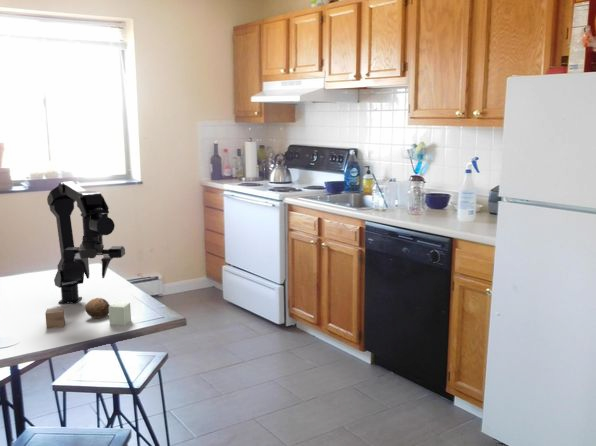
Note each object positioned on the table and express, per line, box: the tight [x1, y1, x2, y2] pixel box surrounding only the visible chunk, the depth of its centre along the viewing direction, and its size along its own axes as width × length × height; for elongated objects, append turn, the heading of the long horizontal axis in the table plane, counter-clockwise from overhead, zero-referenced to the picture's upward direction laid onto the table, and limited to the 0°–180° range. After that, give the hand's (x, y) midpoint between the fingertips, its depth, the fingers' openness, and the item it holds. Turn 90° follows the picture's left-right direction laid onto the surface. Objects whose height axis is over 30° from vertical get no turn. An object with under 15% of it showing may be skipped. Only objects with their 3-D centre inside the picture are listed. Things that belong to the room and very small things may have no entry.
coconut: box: [84, 297, 111, 319], centre depth 193 cm, size 8×8×6 cm
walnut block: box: [44, 307, 66, 329], centre depth 185 cm, size 5×5×5 cm
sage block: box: [108, 301, 132, 326], centre depth 187 cm, size 5×5×6 cm
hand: (95, 278), depth 191 cm, fingers open, 5 cm apart
